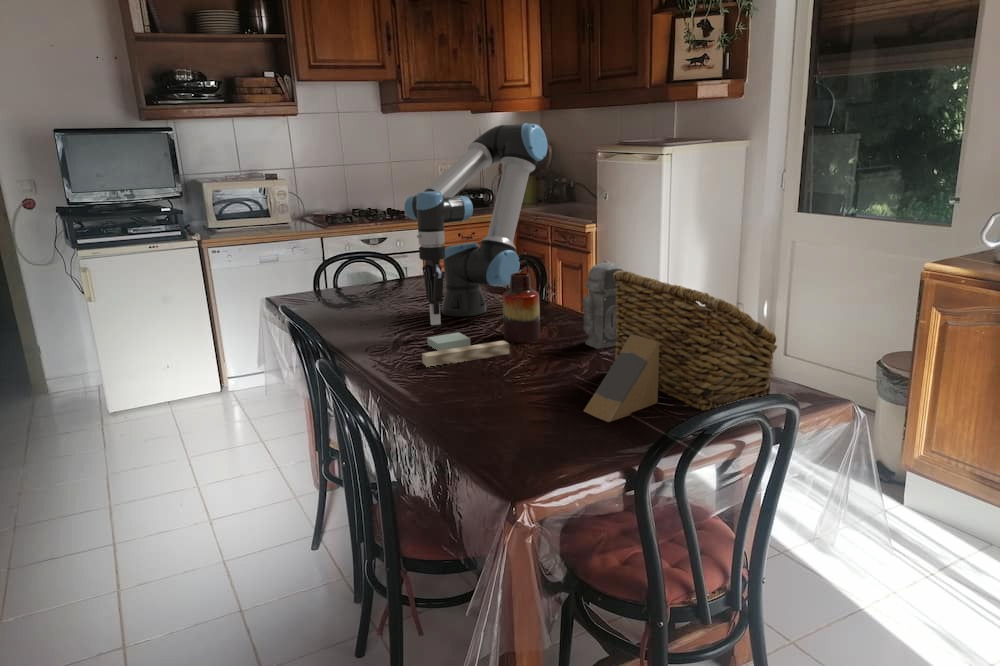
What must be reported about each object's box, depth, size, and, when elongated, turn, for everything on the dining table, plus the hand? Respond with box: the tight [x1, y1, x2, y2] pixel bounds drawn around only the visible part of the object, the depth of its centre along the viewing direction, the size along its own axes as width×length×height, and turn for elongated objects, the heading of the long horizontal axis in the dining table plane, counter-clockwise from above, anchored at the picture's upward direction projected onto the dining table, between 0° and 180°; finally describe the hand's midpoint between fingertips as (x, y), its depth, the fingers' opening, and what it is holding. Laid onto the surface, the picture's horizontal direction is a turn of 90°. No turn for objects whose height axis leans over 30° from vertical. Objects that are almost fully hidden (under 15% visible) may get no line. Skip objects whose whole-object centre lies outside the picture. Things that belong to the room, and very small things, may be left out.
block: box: [426, 332, 472, 351], centre depth 206 cm, size 10×8×4 cm
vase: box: [502, 272, 541, 344], centre depth 210 cm, size 11×11×20 cm
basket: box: [613, 270, 778, 412], centre depth 168 cm, size 36×26×27 cm
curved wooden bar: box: [421, 340, 511, 368], centre depth 194 cm, size 24×4×4 cm, turn 114°
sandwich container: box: [583, 334, 659, 423], centre depth 155 cm, size 9×15×15 cm, turn 126°
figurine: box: [582, 259, 624, 350], centre depth 201 cm, size 10×14×25 cm
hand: (435, 324), depth 214 cm, fingers closed
